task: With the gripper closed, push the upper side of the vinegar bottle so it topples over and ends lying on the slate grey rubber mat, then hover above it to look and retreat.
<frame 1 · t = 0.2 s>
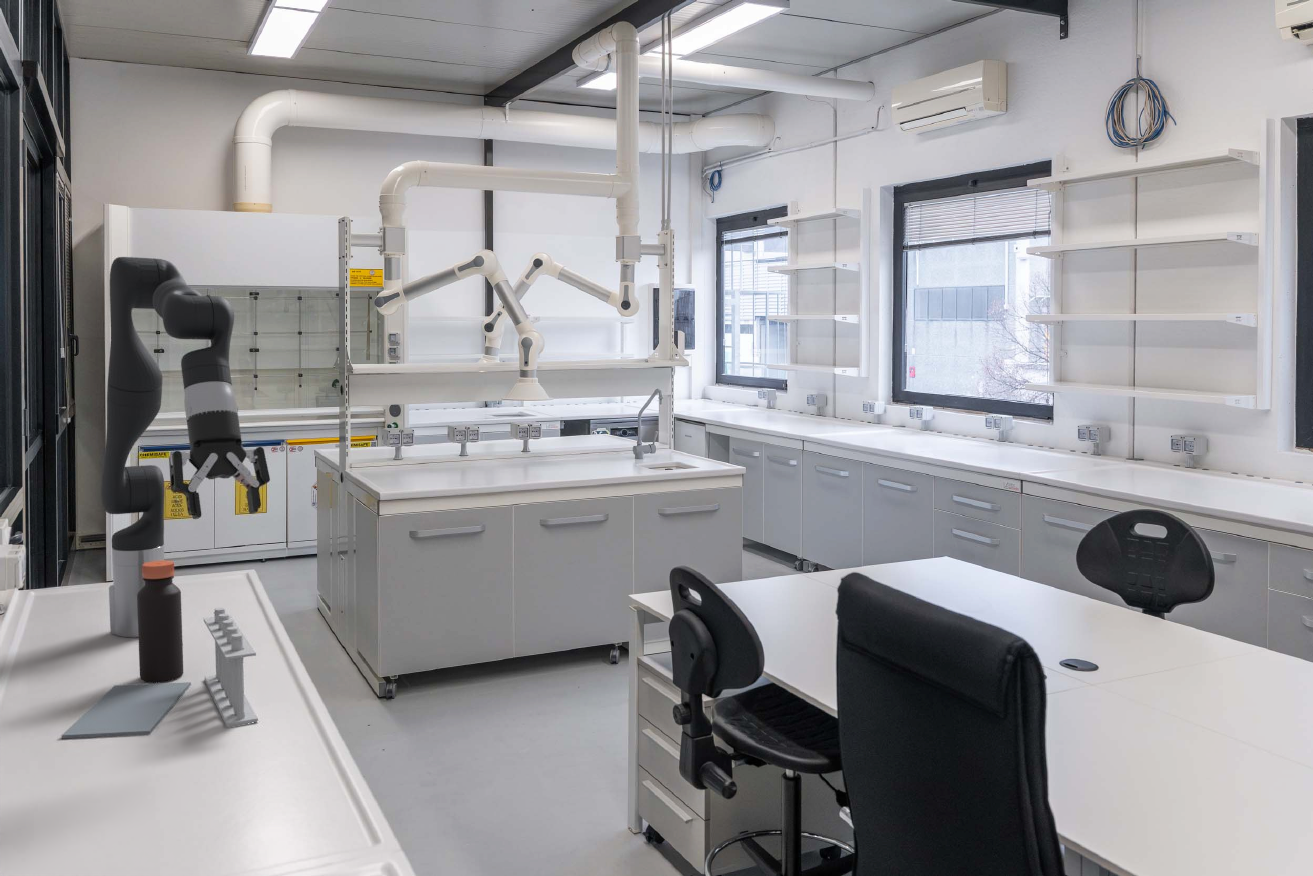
hand: (225, 515, 157), 31 cm above the table, tool tilted 20°, fingers open, 8 cm apart
test tube rack: (229, 702, 165), on the table
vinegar: (161, 678, 176), on the table
slate mat: (131, 709, 160), on the table
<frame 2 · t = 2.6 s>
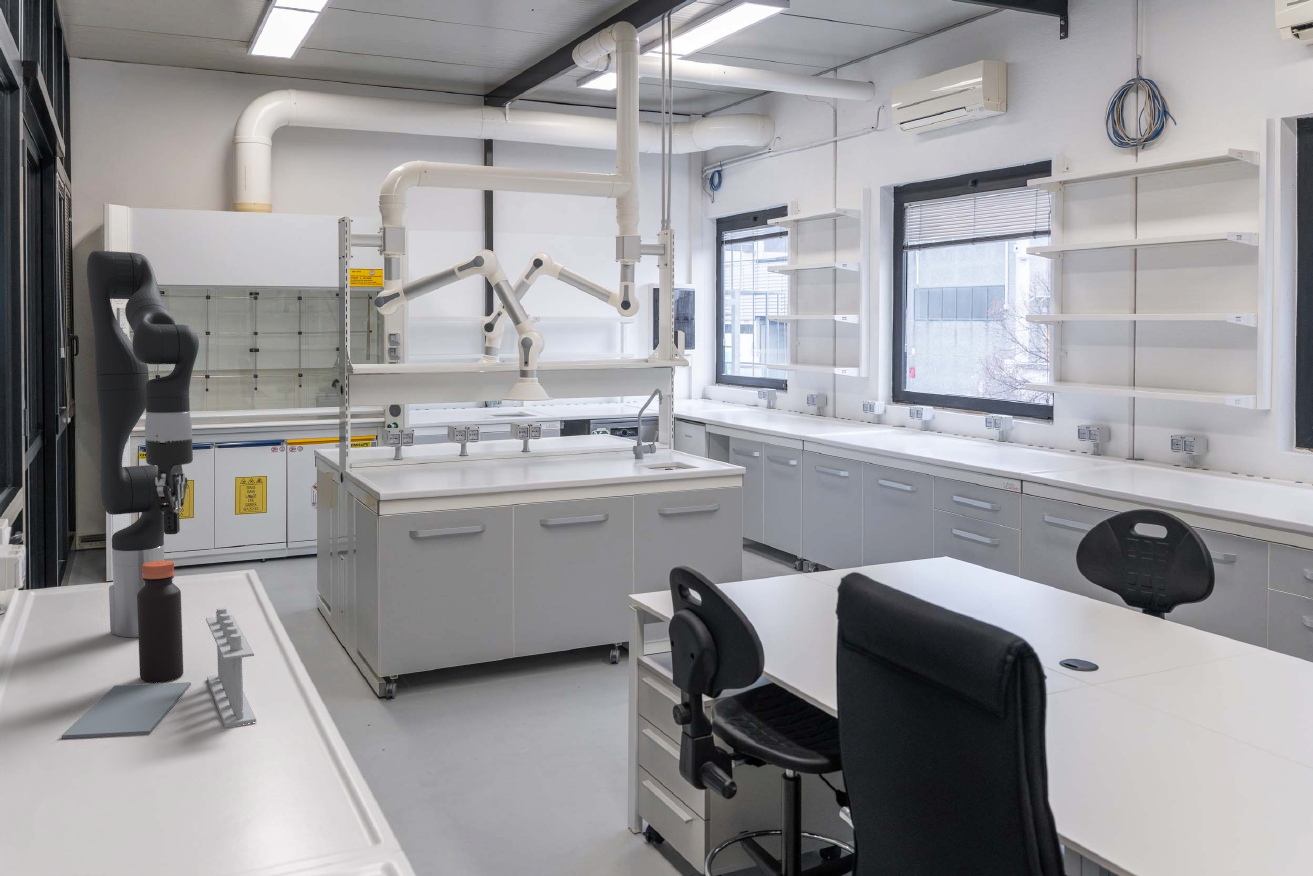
hand: (172, 533, 182), 24 cm above the table, tool pointing down, fingers closed
nothing on the table moved.
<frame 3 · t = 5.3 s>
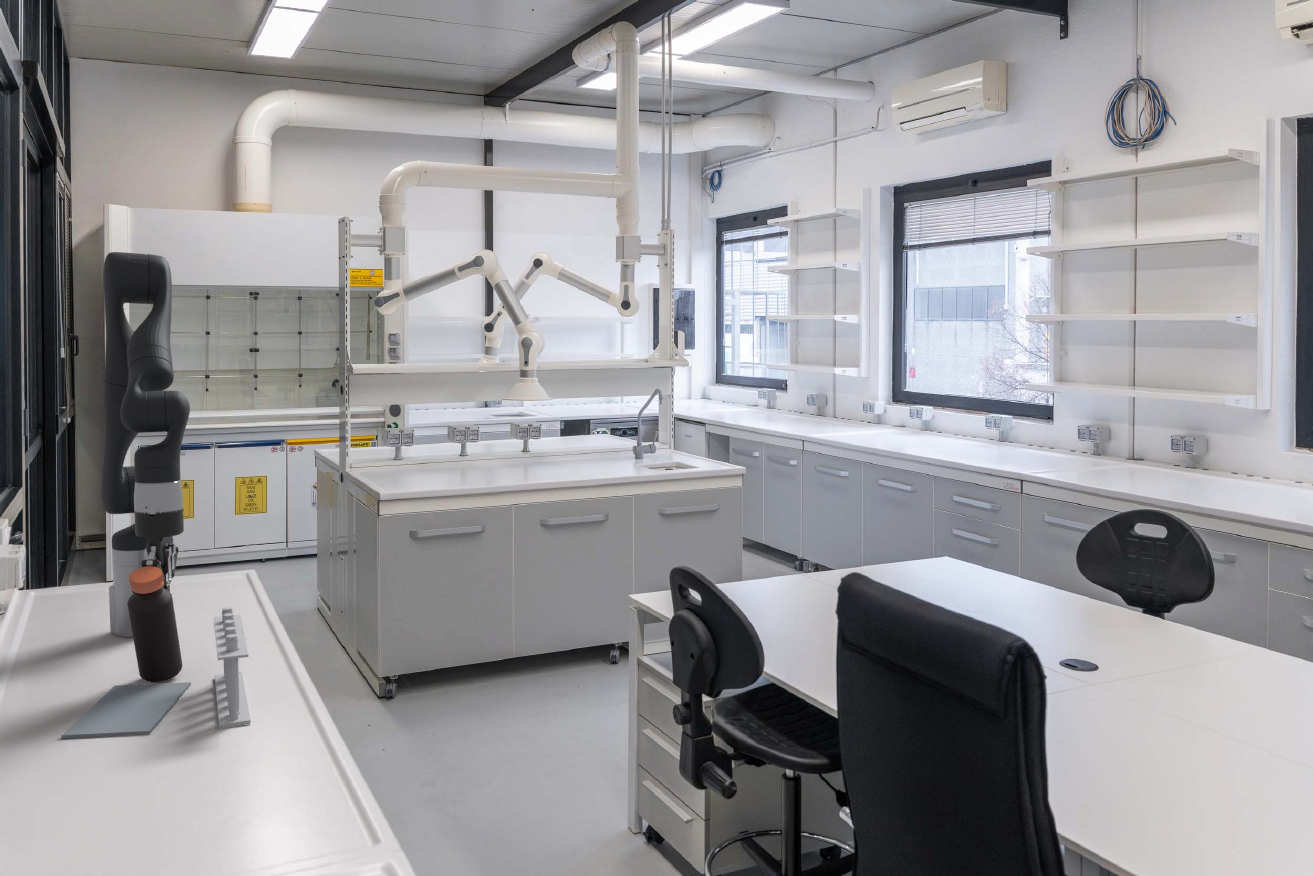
hand: (162, 606, 175), 12 cm above the table, tool pointing down, fingers closed
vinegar: (161, 671, 175), point 1 cm above the table
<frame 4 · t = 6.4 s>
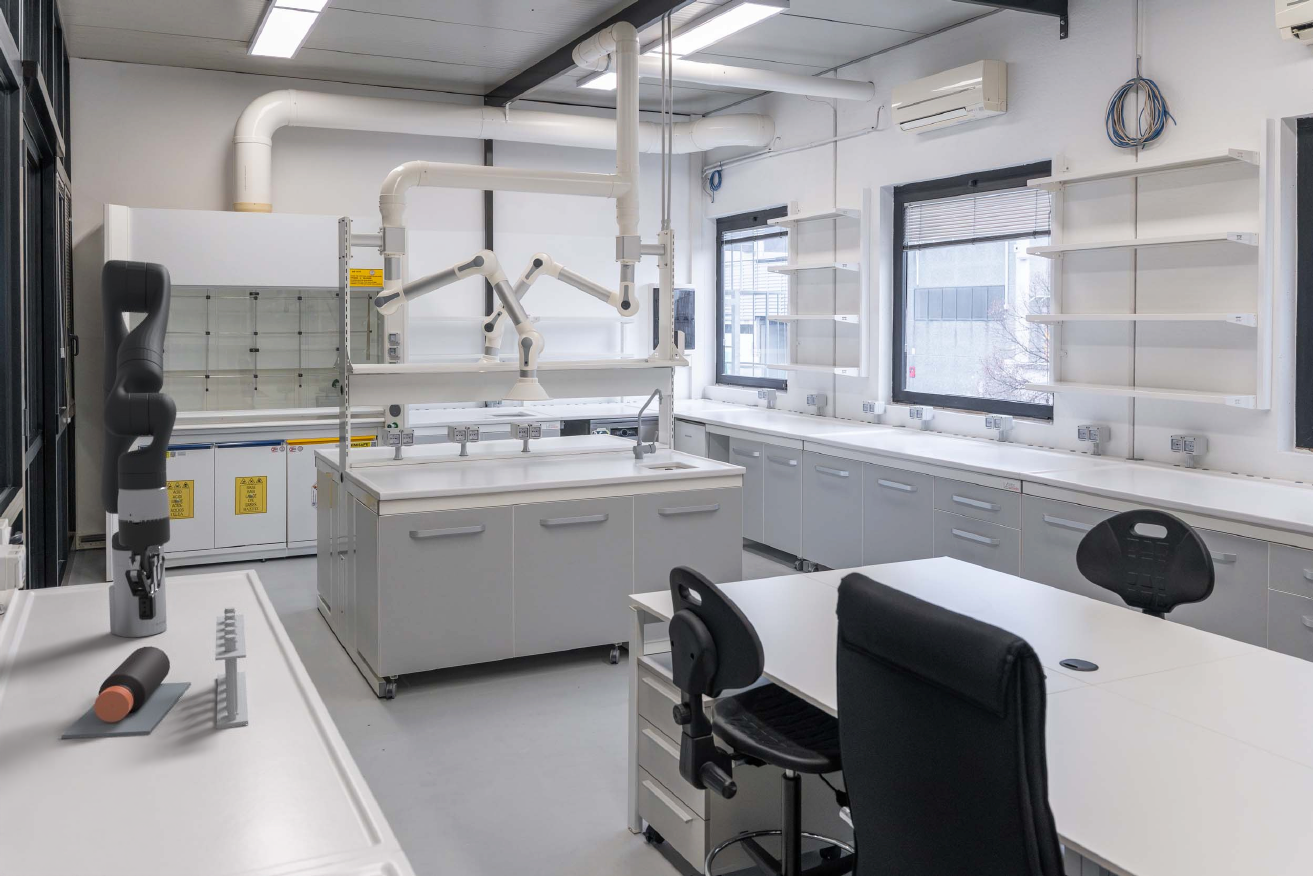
hand: (147, 618, 168), 12 cm above the table, tool pointing down, fingers closed
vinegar: (149, 664, 172), point 3 cm above the table, touching slate mat
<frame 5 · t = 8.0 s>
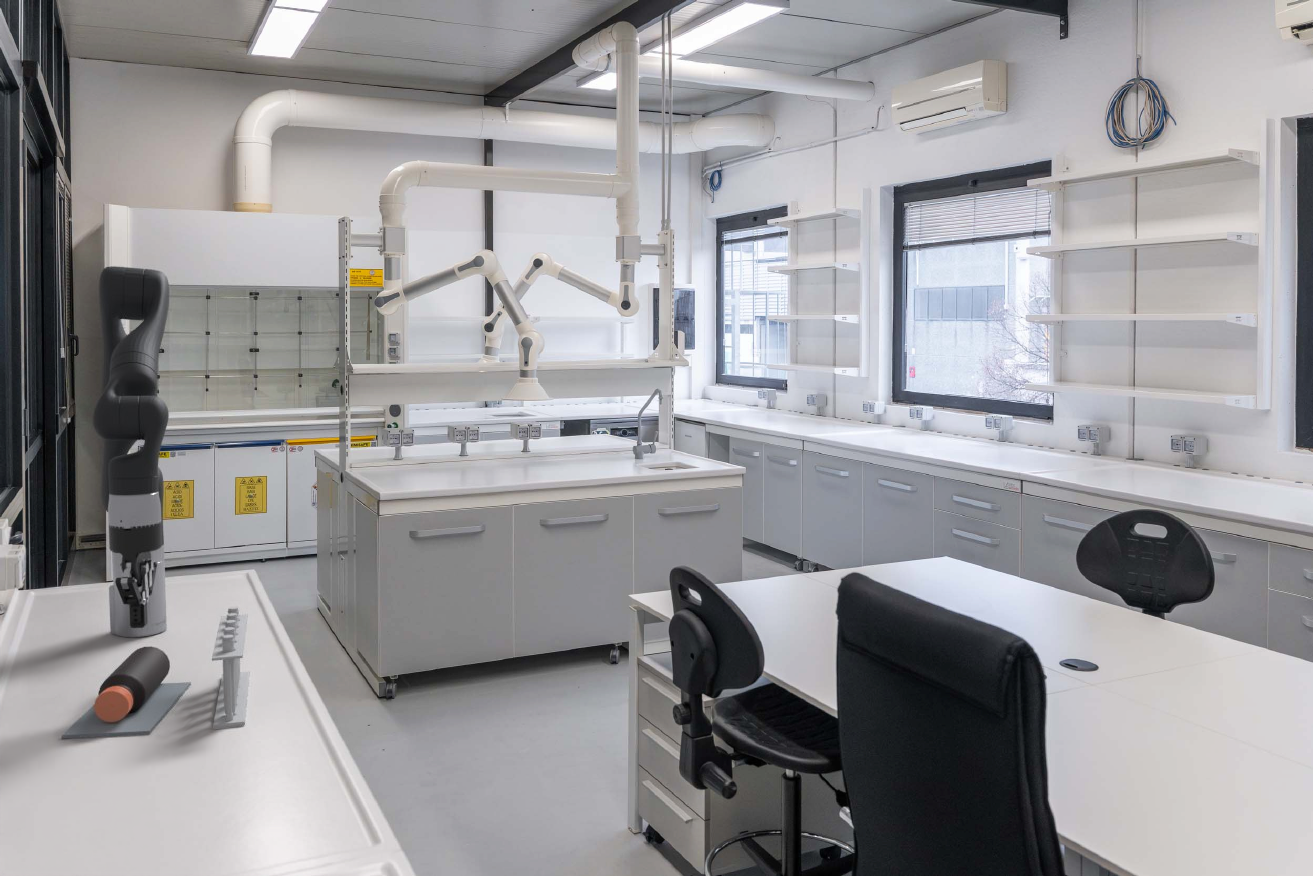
hand: (138, 626, 164), 12 cm above the table, tool pointing down, fingers closed
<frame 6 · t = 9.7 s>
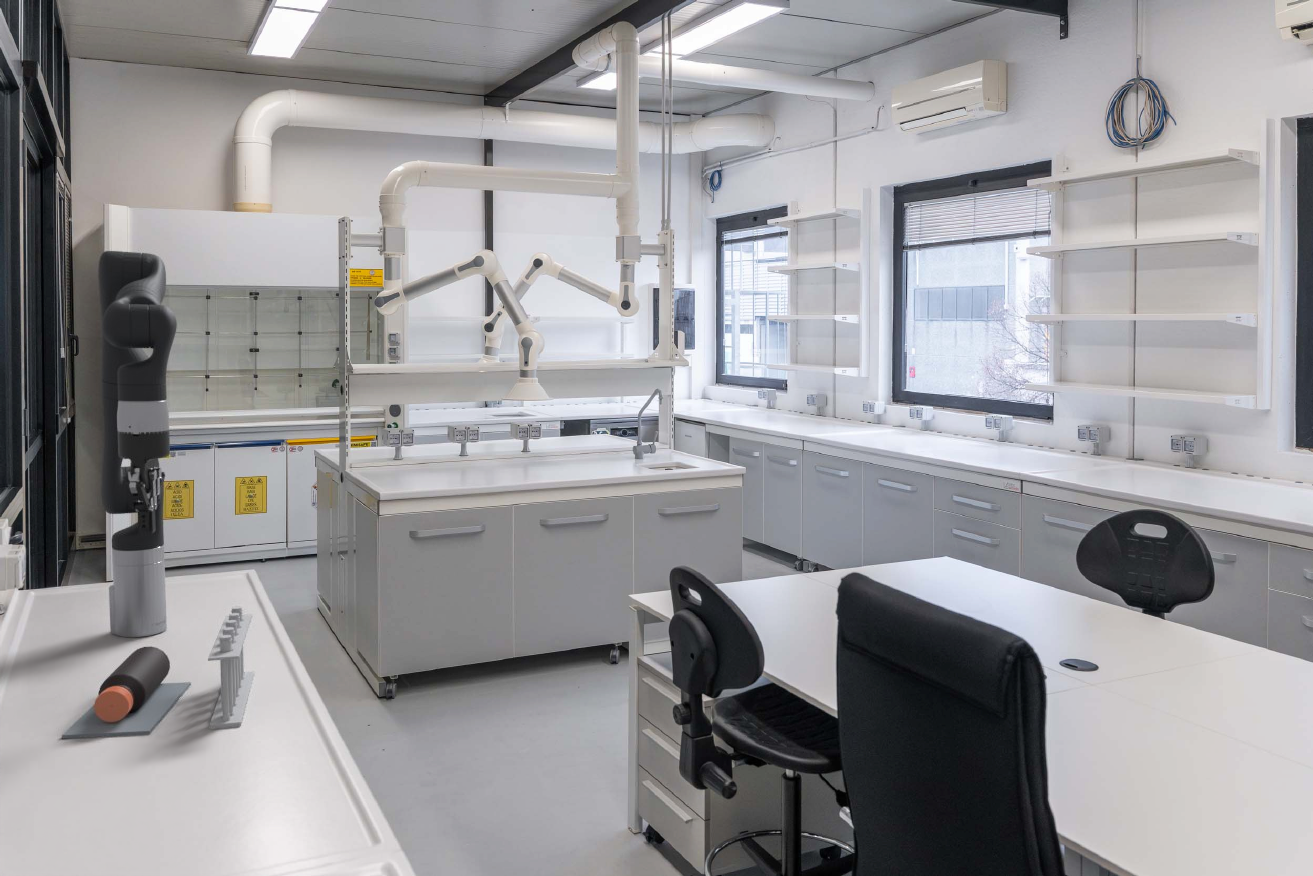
hand: (147, 533, 167), 27 cm above the table, tool pointing down, fingers closed
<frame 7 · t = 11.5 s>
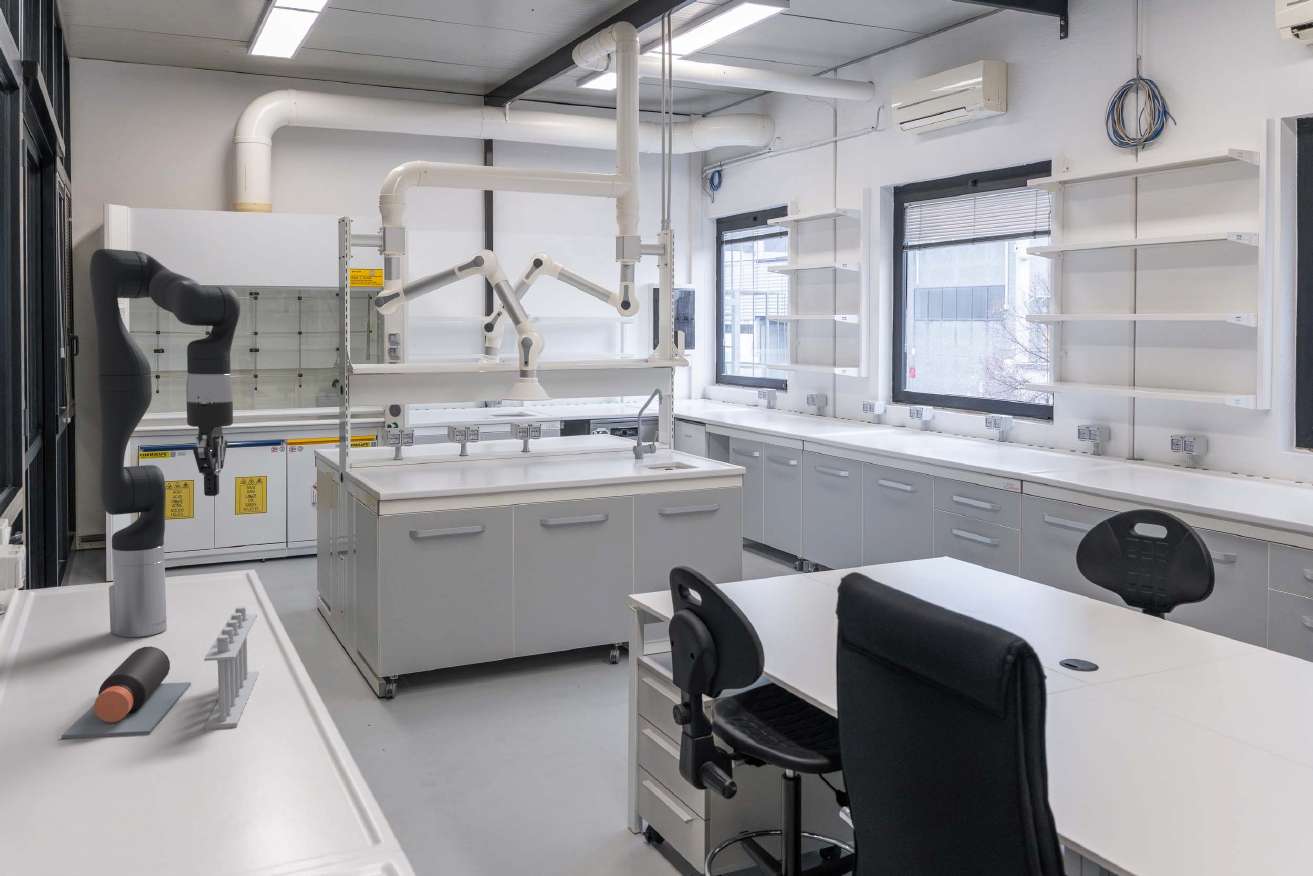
hand: (211, 495, 182), 30 cm above the table, tool pointing down, fingers closed
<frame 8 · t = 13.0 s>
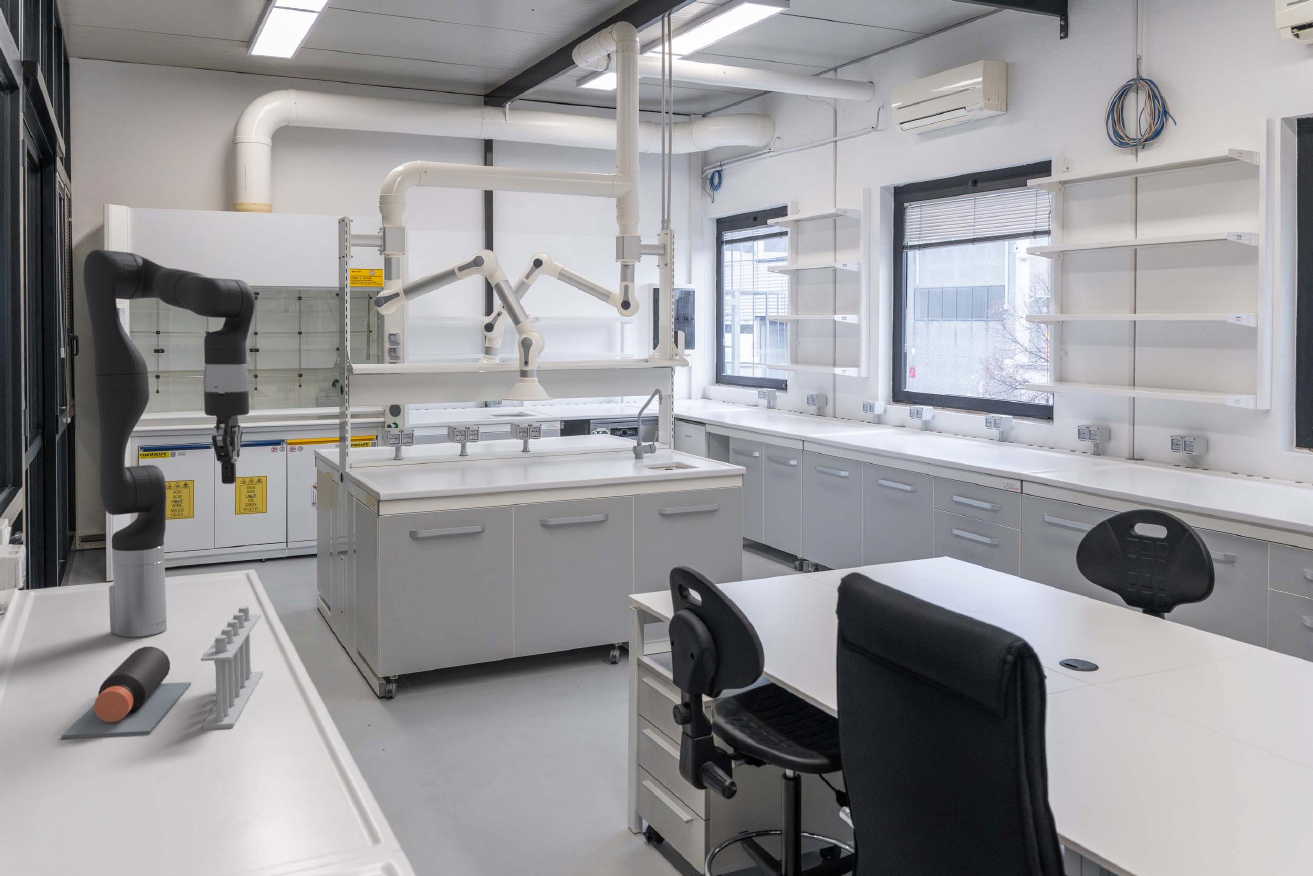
hand: (228, 483, 187), 32 cm above the table, tool pointing down, fingers closed
at the end: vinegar tilted 90°; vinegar touching slate mat, table; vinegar inside the target area (3.9 cm from its centre), point 3.3 cm above the table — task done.
